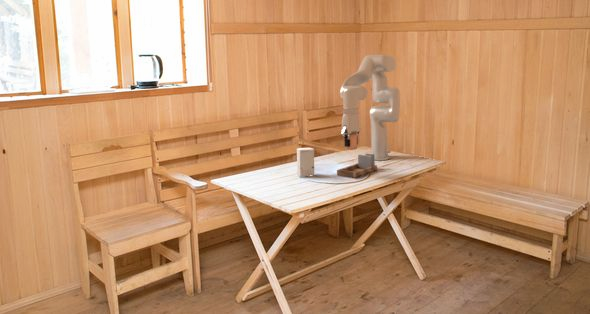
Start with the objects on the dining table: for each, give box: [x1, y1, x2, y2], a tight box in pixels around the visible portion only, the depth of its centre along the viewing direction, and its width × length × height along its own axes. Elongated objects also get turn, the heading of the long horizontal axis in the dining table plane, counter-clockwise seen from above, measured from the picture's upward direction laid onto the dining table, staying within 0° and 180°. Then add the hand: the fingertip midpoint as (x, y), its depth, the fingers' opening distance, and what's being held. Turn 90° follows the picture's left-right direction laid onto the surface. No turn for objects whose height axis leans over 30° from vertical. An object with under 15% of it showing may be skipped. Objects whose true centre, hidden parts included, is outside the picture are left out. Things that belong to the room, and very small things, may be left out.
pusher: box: [357, 152, 376, 168], centre depth 308 cm, size 6×8×7 cm
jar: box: [344, 132, 358, 151], centre depth 294 cm, size 6×6×9 cm
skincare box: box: [296, 147, 315, 178], centre depth 300 cm, size 8×6×15 cm
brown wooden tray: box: [336, 162, 378, 179], centre depth 302 cm, size 20×12×3 cm, turn 138°
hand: (351, 145), depth 295 cm, fingers closed on jar, 6 cm apart
